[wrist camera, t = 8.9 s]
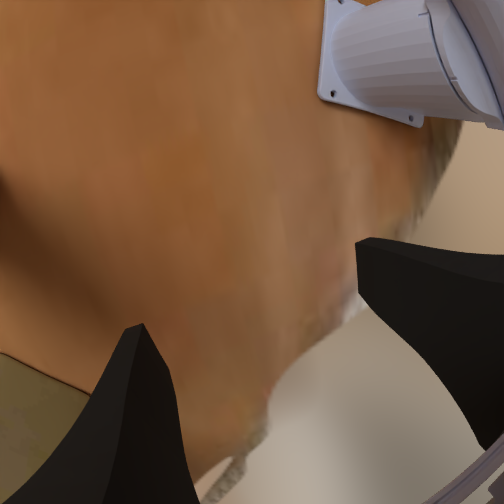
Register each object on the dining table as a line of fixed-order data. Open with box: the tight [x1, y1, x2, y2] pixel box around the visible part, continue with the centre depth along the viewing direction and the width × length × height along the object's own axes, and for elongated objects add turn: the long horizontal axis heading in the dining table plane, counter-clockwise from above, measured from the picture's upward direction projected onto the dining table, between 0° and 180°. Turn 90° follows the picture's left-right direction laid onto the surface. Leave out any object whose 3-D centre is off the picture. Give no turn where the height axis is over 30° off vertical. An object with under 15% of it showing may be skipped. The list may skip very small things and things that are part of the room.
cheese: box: [0, 353, 90, 504], centre depth 14 cm, size 22×10×15 cm, turn 143°
